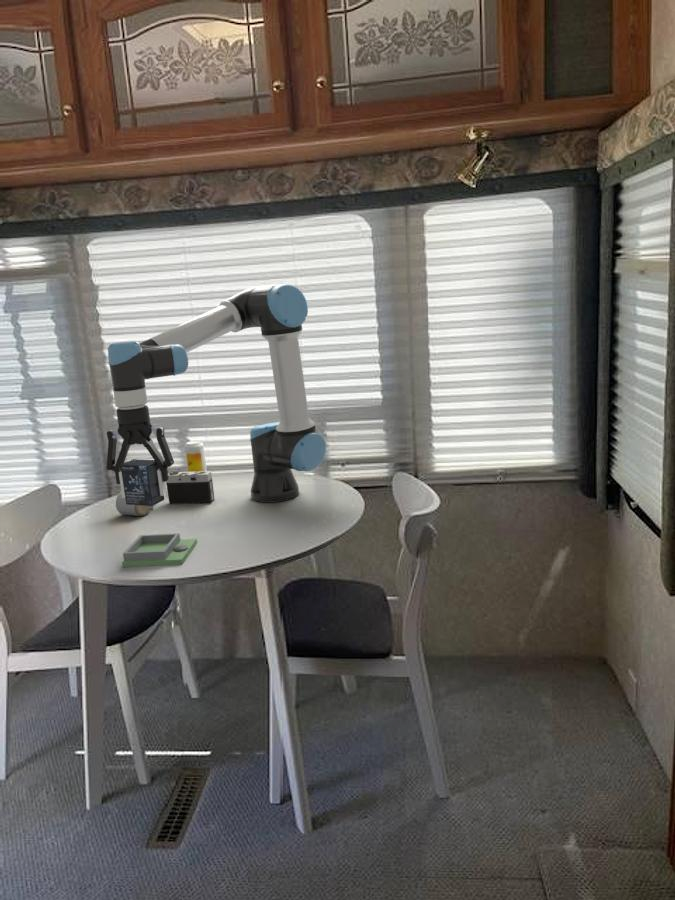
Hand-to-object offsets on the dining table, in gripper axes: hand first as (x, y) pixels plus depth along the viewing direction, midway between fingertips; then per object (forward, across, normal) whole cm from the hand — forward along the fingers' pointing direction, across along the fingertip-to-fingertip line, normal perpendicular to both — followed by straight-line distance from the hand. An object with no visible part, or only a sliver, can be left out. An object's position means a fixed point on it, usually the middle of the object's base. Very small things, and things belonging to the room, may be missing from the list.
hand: (144, 495), depth 173 cm
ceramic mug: (+16, +16, -35) cm, 42 cm away
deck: (+16, -2, 0) cm, 16 cm away
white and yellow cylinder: (+16, +4, -63) cm, 65 cm away
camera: (+16, +2, -46) cm, 48 cm away
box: (+2, 0, 0) cm, 2 cm away
